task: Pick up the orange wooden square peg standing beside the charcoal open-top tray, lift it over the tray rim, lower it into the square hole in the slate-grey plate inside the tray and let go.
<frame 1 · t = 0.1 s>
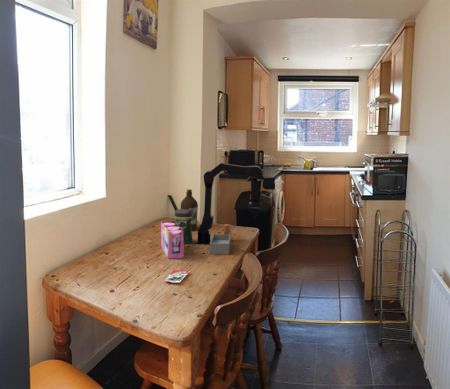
hand: (254, 217, 230), 15 cm above the table, tool pointing down, fingers open, 9 cm apart
peg: (227, 240, 238), on the table
olive oil: (189, 230, 263), on the table
coffee jar: (183, 242, 234), on the table
gum box: (172, 252, 216), on the table
tray: (220, 249, 222), on the table
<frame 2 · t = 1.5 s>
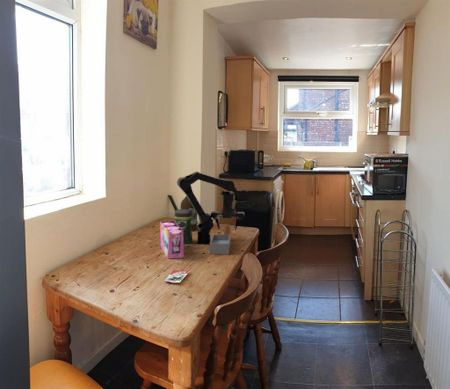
hand: (227, 229, 237), 6 cm above the table, tool pointing down, fingers open, 9 cm apart
nothing on the table moved.
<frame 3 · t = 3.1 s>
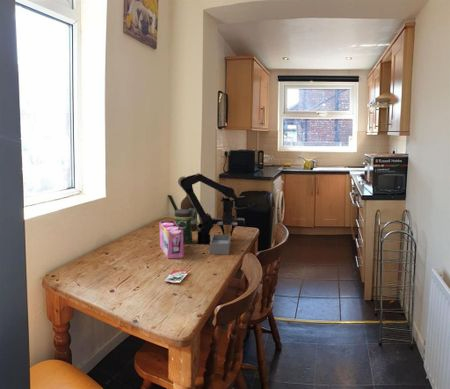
hand: (227, 236, 238), 3 cm above the table, tool pointing down, fingers closed on peg, 3 cm apart
peg: (227, 240, 238), on the table, touching gripper
everything else where it was.
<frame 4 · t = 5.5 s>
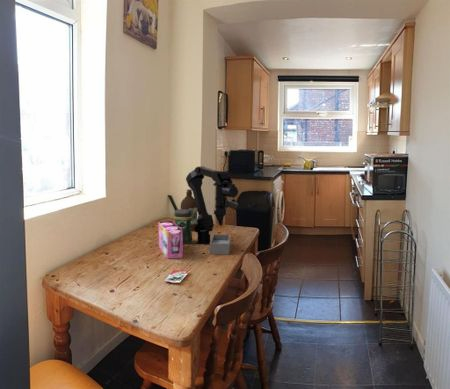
hand: (220, 224, 220), 13 cm above the table, tool pointing down, fingers closed on peg, 3 cm apart
peg: (221, 229, 220), point 11 cm above the table, touching gripper
when the fingers open (3 cm above the table, at t = 7.9 s): peg stays where it is, resting in tray.
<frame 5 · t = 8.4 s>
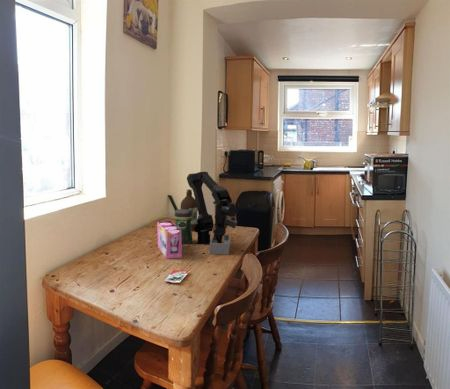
hand: (220, 242, 221), 3 cm above the table, tool pointing down, fingers open, 9 cm apart
peg: (220, 249, 222), resting in tray
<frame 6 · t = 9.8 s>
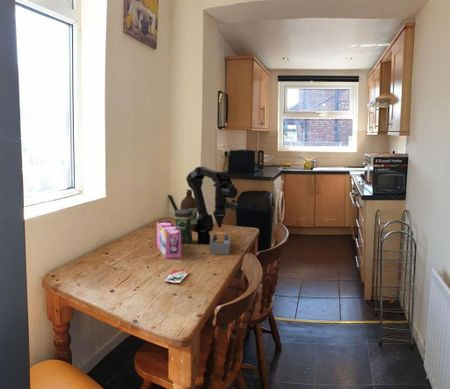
hand: (220, 225, 220), 13 cm above the table, tool pointing down, fingers open, 9 cm apart
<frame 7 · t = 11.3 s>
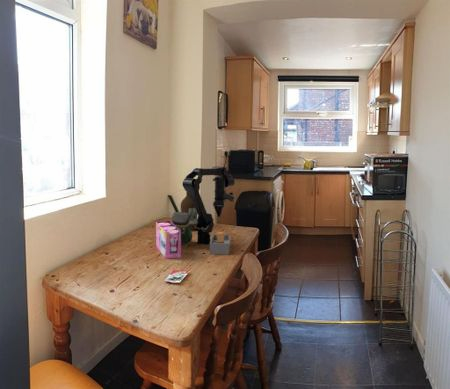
hand: (219, 215, 243), 13 cm above the table, tool pointing down, fingers open, 9 cm apart
coffee jar: (183, 238, 233), point 2 cm above the table
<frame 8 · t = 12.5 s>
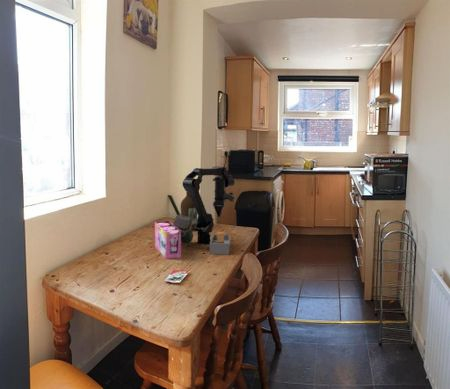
hand: (219, 215, 243), 13 cm above the table, tool pointing down, fingers open, 9 cm apart
coffee jar: (184, 237, 232), point 3 cm above the table
at the end: peg 0.0 cm off-centre on the tray, point 0.0 cm above the tray's base; peg tilted 0°; the gripper is holding nothing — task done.
